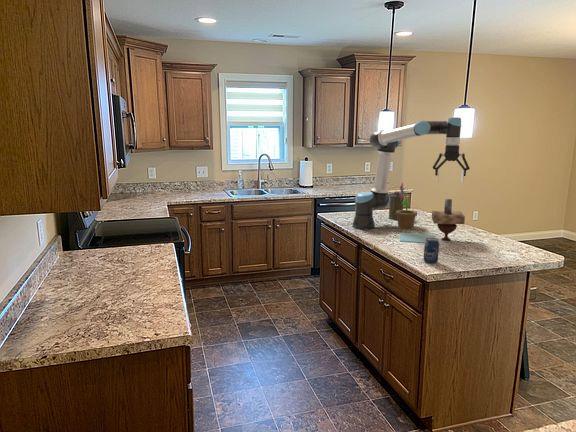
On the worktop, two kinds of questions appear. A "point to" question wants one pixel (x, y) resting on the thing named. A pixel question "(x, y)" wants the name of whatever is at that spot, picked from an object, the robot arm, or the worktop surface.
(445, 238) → the ice cream bowl
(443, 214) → the lid
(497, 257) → the worktop surface
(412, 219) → the flowerpot
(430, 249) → the soda can
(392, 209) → the canister
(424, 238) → the mat
